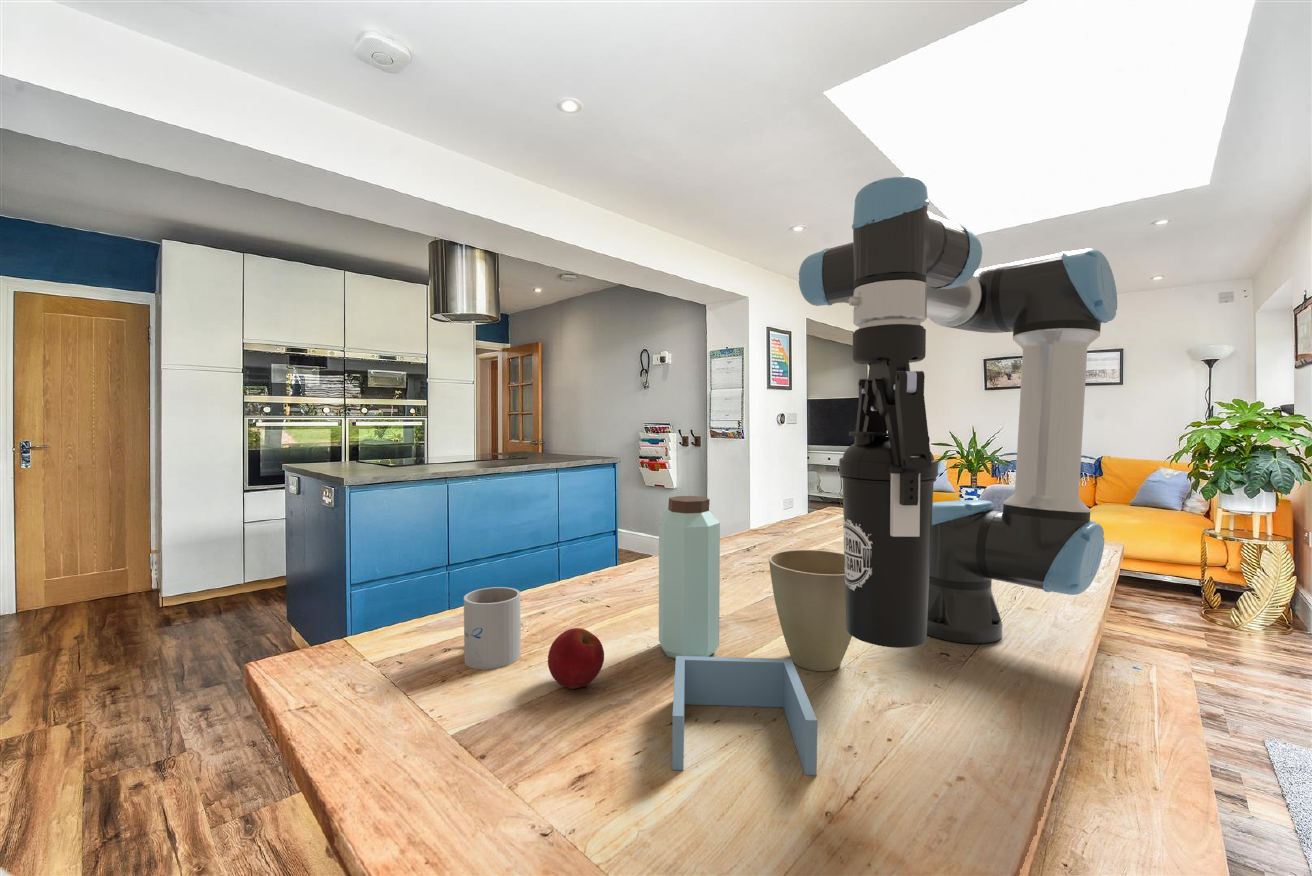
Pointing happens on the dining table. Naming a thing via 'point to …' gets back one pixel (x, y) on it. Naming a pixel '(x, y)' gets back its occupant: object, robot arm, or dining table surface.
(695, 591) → the water bottle
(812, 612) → the plant pot
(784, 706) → the u rest
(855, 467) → the water bottle
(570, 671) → the apple
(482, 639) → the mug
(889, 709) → the dining table surface
